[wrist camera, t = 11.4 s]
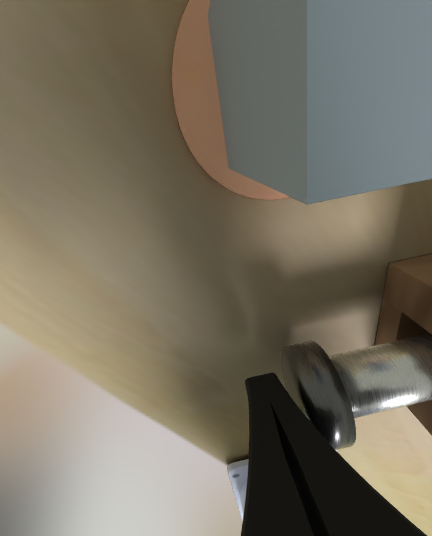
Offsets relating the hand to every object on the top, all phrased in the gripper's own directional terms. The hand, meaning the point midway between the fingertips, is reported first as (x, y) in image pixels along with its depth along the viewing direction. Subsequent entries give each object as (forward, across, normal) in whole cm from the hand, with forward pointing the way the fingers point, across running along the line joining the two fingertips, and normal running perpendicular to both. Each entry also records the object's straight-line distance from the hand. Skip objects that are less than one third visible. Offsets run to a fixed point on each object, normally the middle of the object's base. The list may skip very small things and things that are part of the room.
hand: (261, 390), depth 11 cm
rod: (+1, -6, 0) cm, 6 cm away
